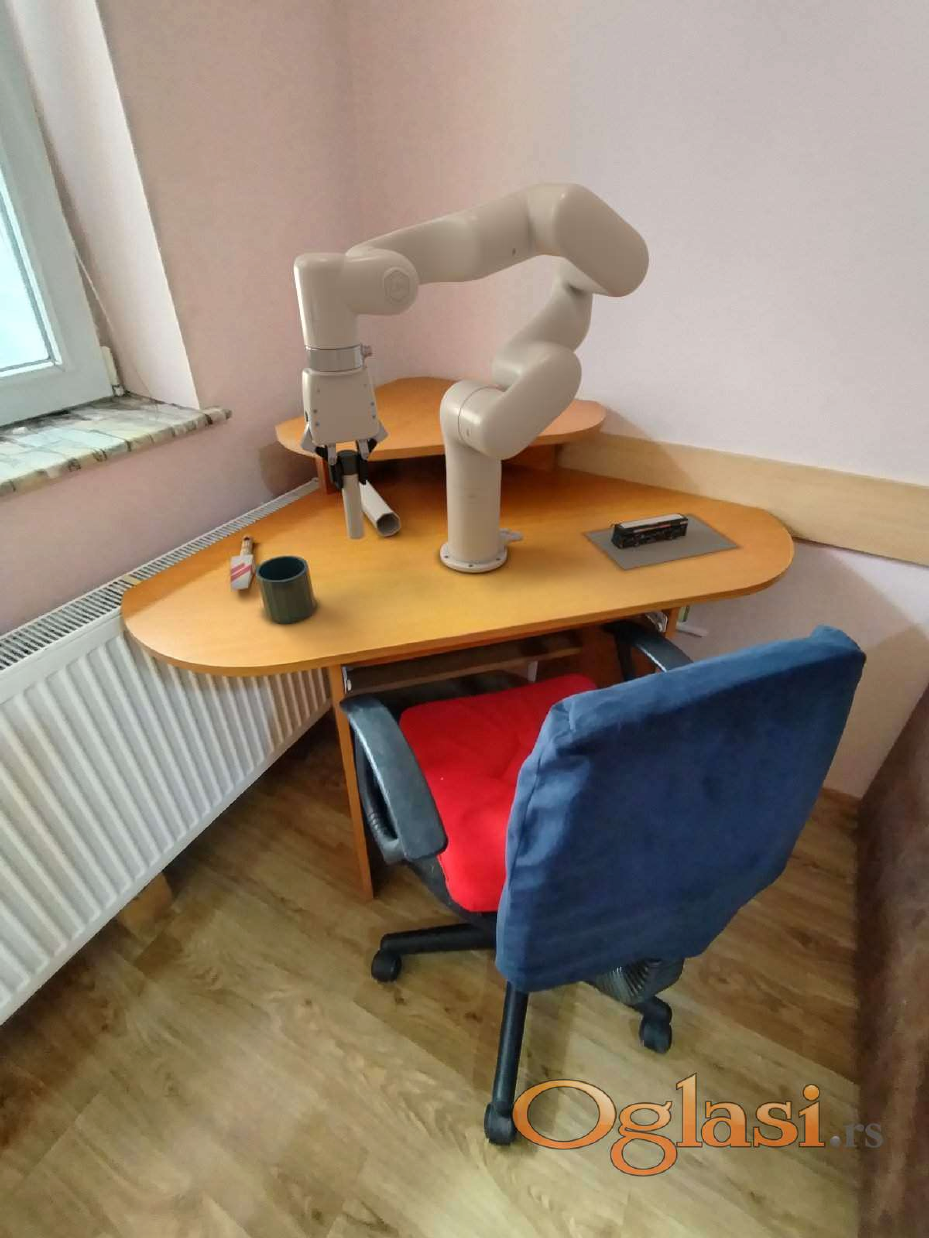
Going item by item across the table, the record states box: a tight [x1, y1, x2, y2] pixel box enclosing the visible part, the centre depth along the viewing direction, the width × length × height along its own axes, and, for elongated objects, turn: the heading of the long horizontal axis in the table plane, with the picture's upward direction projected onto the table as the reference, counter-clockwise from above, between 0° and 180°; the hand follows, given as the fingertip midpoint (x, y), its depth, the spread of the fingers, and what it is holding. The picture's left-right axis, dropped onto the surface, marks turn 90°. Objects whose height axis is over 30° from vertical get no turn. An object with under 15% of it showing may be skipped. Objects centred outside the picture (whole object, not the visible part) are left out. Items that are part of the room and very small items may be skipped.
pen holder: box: [254, 555, 316, 625], centre depth 97 cm, size 8×8×8 cm
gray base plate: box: [585, 512, 738, 570], centre depth 116 cm, size 14×25×4 cm, turn 109°
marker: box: [336, 449, 366, 540], centre depth 94 cm, size 3×3×14 cm
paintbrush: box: [230, 534, 257, 591], centre depth 109 cm, size 4×3×20 cm
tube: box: [359, 479, 402, 538], centre depth 127 cm, size 5×5×25 cm
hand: (350, 483), depth 92 cm, fingers closed on marker, 3 cm apart
